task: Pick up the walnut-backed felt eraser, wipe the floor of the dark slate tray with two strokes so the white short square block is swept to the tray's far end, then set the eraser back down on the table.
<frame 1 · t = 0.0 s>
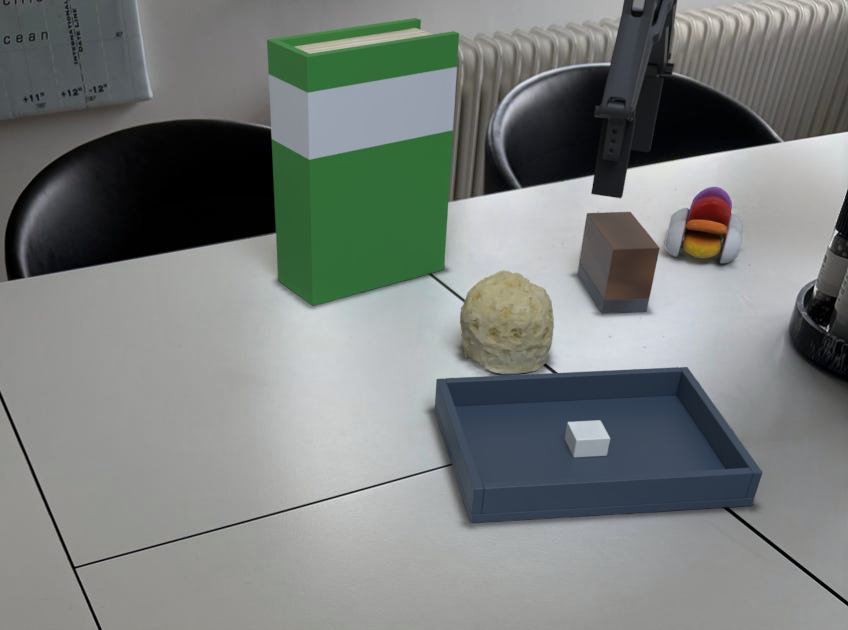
hand: (622, 171, 98), 16 cm above the table, tool pointing down, fingers open, 13 cm apart
tray: (584, 455, 91), on the table
white short square block: (585, 447, 90), point 1 cm above the table, touching tray
decorative item: (503, 356, 105), on the table
eraser: (610, 292, 115), on the table
hardback book: (362, 277, 118), on the table
rainbow disc roller: (699, 253, 124), on the table
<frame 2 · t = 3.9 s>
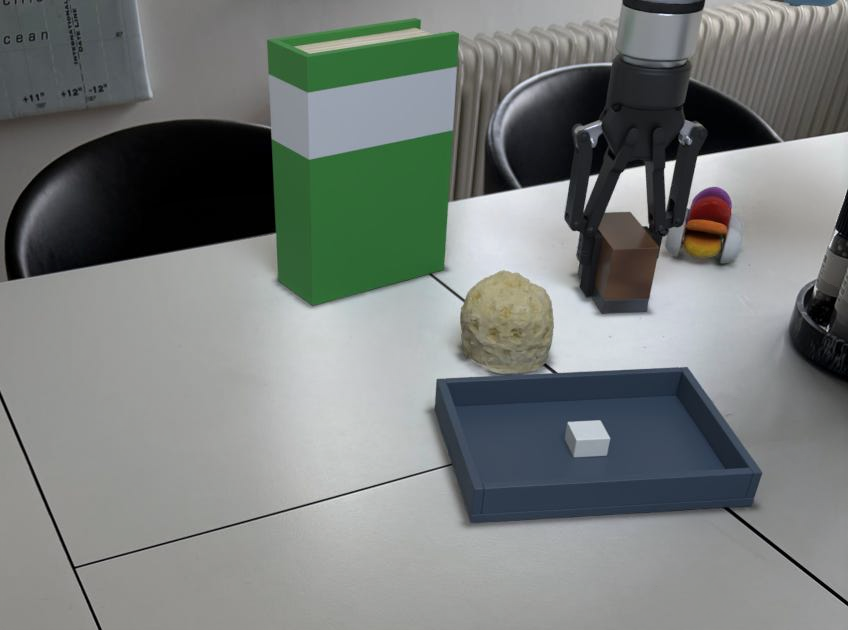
hand: (611, 290, 115), 0 cm above the table, tool pointing down, fingers closed on eraser, 5 cm apart
eraser: (610, 292, 115), on the table, touching gripper
everything else where it was.
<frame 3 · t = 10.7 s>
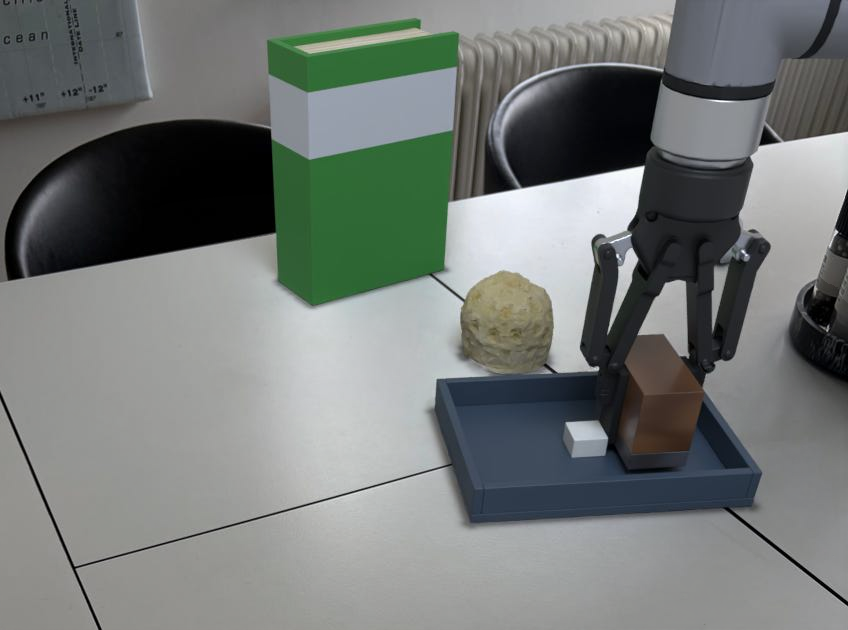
hand: (638, 433, 90), 2 cm above the table, tool pointing down, fingers closed on eraser, 5 cm apart
white short square block: (583, 447, 90), point 1 cm above the table, touching gripper, tray
eraser: (638, 436, 90), point 2 cm above the table, touching gripper
everything else where it was.
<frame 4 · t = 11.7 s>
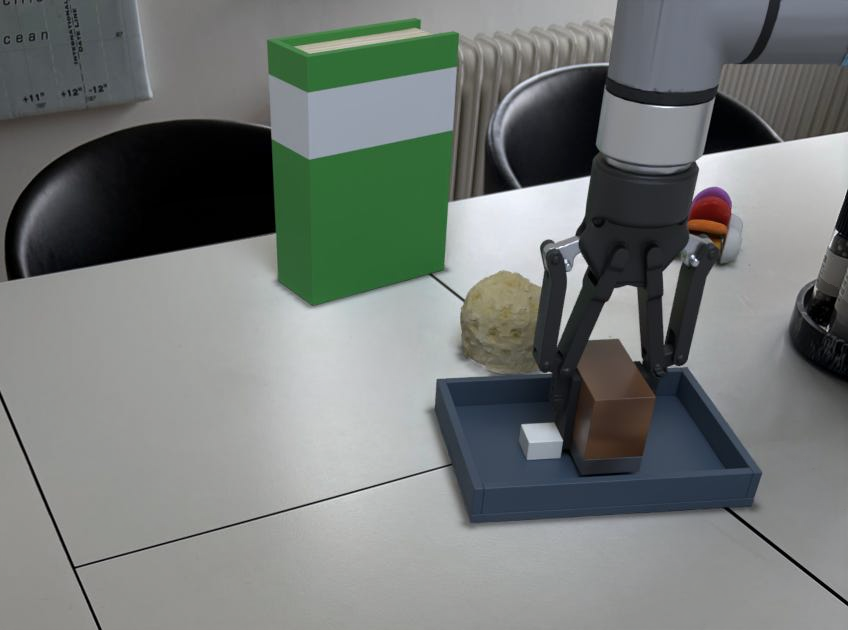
hand: (594, 438, 90), 2 cm above the table, tool pointing down, fingers closed on eraser, 5 cm apart
white short square block: (539, 450, 90), point 1 cm above the table, touching gripper
eraser: (593, 441, 90), point 1 cm above the table, touching gripper
everything else where it was.
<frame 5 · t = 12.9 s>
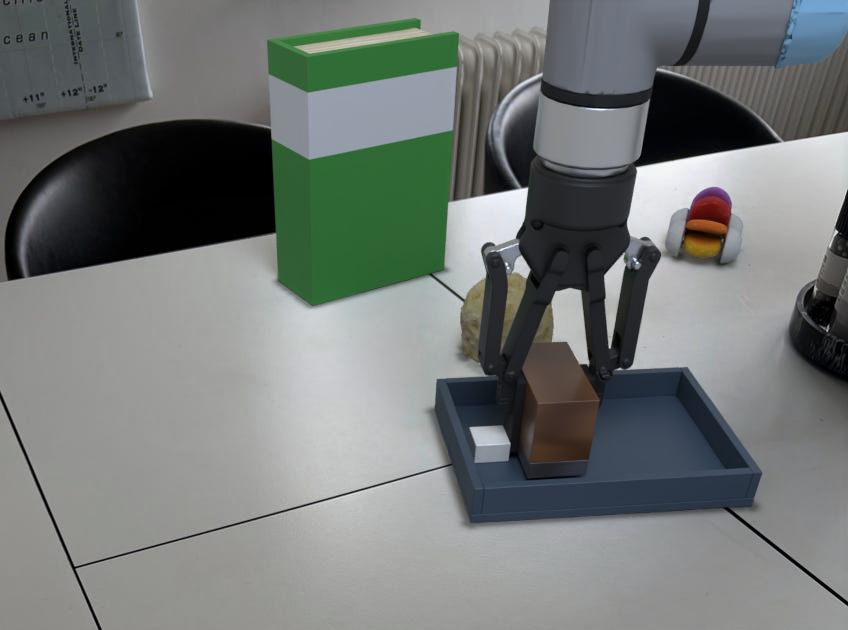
hand: (542, 441, 89), 2 cm above the table, tool pointing down, fingers closed on eraser, 5 cm apart
white short square block: (487, 453, 89), point 1 cm above the table, touching gripper, tray
eraser: (542, 444, 90), point 1 cm above the table, touching gripper
everything else where it was.
when the fingers open (0 cm above the table, at t = 26.2 s): eraser stays where it is, on the table.
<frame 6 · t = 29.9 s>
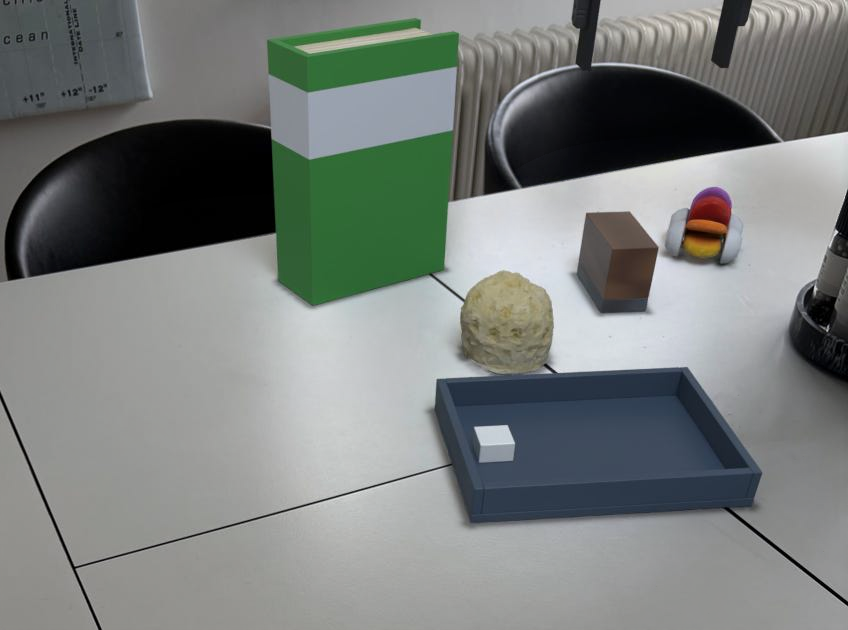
hand: (651, 66, 100), 23 cm above the table, tool pointing down, fingers open, 13 cm apart
white short square block: (492, 452, 90), point 1 cm above the table, touching tray
eraser: (610, 292, 115), on the table
everything else where it was.
at the end: white short square block inside the target area in the tray (0.6 cm from its centre), point 0.8 cm above the tray's base; eraser inside the target area (0.1 cm from its centre), on the table; eraser tilted 0° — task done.
